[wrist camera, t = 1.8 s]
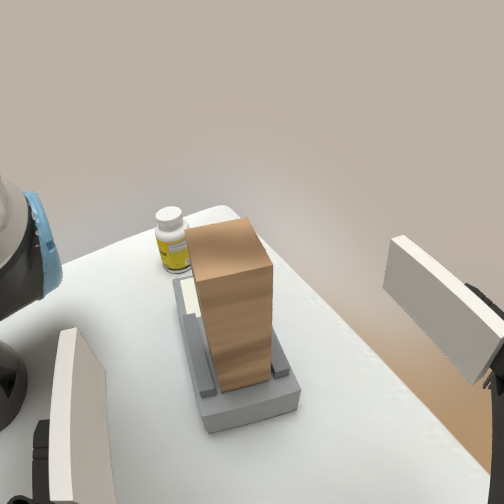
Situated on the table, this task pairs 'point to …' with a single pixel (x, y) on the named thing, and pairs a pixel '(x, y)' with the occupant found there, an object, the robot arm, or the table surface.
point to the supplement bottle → (172, 239)
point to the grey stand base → (206, 384)
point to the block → (234, 300)
